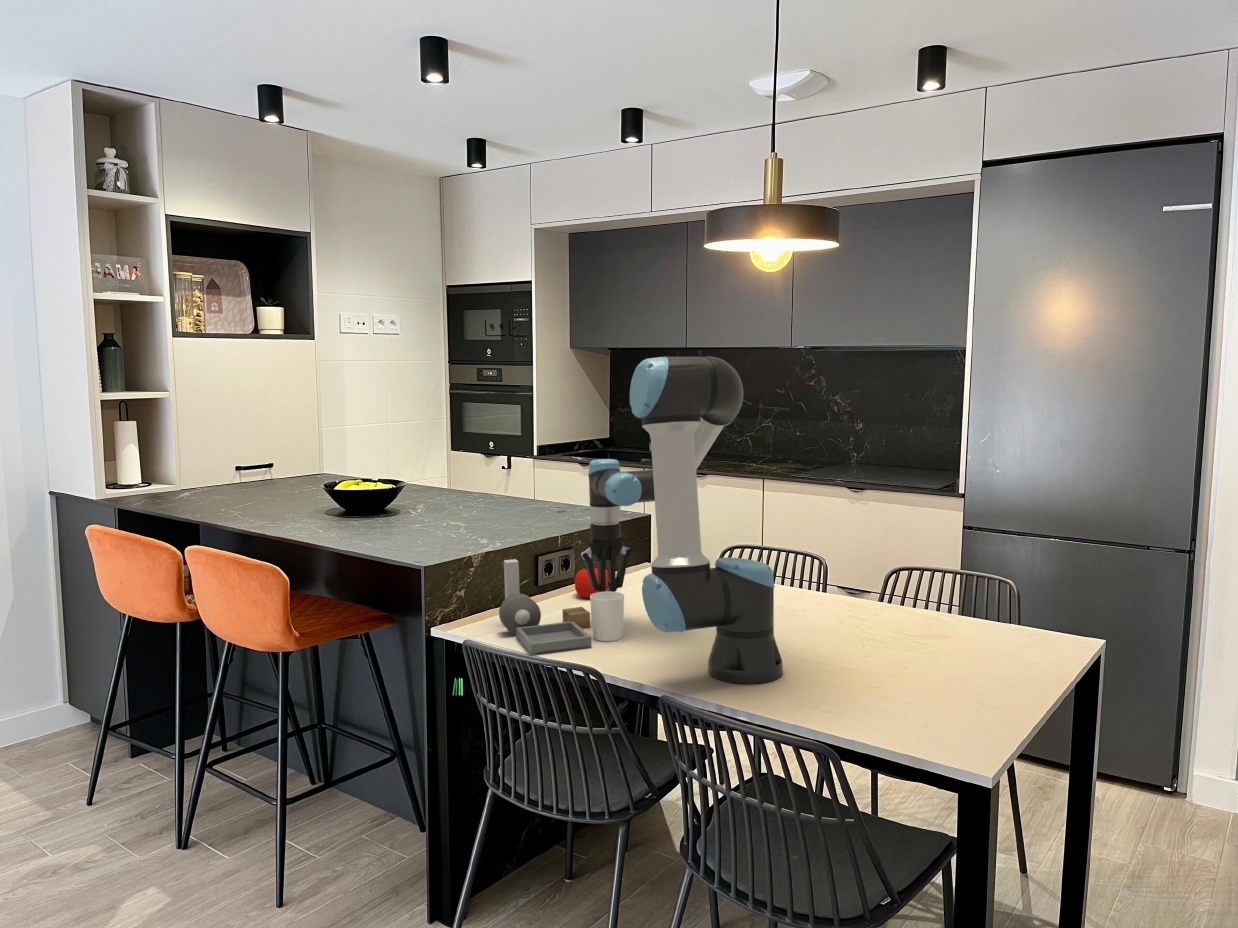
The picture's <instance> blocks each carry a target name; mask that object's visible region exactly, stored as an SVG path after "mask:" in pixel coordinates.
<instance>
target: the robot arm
mask: <svg viewBox="0 0 1238 928" xmlns="http://www.w3.org/2000/svg"><path fill="white" fill-rule="evenodd" d="M629 388H630V389H629V407H630V408H631V412H632V414H633V415H634V417H636V418H638V419H641V424H642V426H641V428H642V429H644V431H646V432H647V433H648V434H649V436H650V444H651V445H650V446H651V450H650V451H651V460H652V461H651V464H652V469H644V470H641V469H640V470H627V471H621V468H620V462H619V460H618V459H613V458H601V459H600V458H598V459H591V461H590V462H589V465H588V473H587V474H588V475H587V476H588V489H589V490H588V491H589V492H588V493H589V494H588V495H589V521H590V522H591V523H590V525H589V530H590V531H589V533H590V540H589V541H590V542H589V544H588V548H587V549H586V550H584V551H581V552H580V553H579V554H580V557H581V558H582V560H583V562H584V564H585V569H586V570H587V572H588V576H589V580H590V584H591V587H592V588H593V589H594V590H598V591H599V592H617V589H619V588H620V589H621V588H623V585H624V582H625V581H624V580H625V575H626V572H627V567H628V562H629V558H630V556H631V554H632V553H633V551H632V549H631V548H629V547H626V546H624V542H623V541H622V524H621V523H620V522H621V521H622V520H621V519H622V518H621V517H622V514H621V507H629V506H632V505H634V504H636V503H638V504H640V503H649V502H654V510H655V525H656V541H657V556H656V557H655V559H654V560H653V561H652V562H651V564H650V567H651V573H649V574H647V575H645V576H644V577H643V579H642V584H641V585H642V586H641V594H642V601H643V606H644V609H645V611H646V614H647V616H648V618H649V620H650V622H651V624H652V625H653V626H654V627H655V628H656V629H657V630H658V631H660V632H662V633H683V632H685V631H686V632H687V631H693V630H700V629H701V630H702V629H707V628H708V629H709V628H715V631H716V634H715V638H714V641H713V644H712V647H711V650H710V654H709V657H708V659H707V669H708V670H707V671H708V673H709V675H710V676H711V677H713V678H715V679H718V680H721V681H724V682H726V683H733V684H734V683H735V684H743V685H744V684H745V685H747V684H749V685H750V684H752V685H753V684H762V683H768V682H771V681H775V680H776V679H779V678H781V676H782V675H783V672H784V671H783V668H784V667H783V660H782V656H781V653H780V650H779V647H778V644H777V641H776V639H775V638H776V637H775V632H774V631H775V630H774V626H775V624H774V623H775V616H774V614H775V612H774V611H775V609H774V608H775V606H774V605H775V604H774V601H775V598H774V597H775V595H774V593H775V592H774V591H775V587H776V586H775V581H774V571H773V569H772V568H771V566H770V565H768V564H767V563H765V562H762V561H758V560H754V559H753V560H752V559H747V558H742V557H741V558H739V557H720V558H717V559H716V560H715V562H714V566H715V567H711V562H710V559H708V558H707V557H706V555H704V554H703V551H702V542H701V541H702V539H701V528H700V527H701V525H700V511H699V510H700V509H699V495H698V479H697V478H698V477H697V470H698V468H699V466H700V465H701V463H702V462H703V460H704V458H705V457H706V455H707V454H708V452H709V450H710V449H711V448H712V446H713V444H714V443H715V441H716V440H717V438H718V436H719V435H720V433H721V432H722V430H723V428H724V427H726V426H728V425H730V424H731V423H733V422H734V421H735V419H736V417H737V416H738V414H739V413H740V410H741V408H742V406H743V400H744V387H743V383H742V379H741V377H740V375H739V373H738V371H737V370H736V369H735V367H733V366H732V365H731V364H730V363H729V362H727V361H726V360H724V359H722V358H719V357H716V356H710V355H709V356H706V355H705V356H660V357H659V356H658V357H651V358H650V357H649V358H646V359H644V360H641V362H640V363H639V364H638V365H637V366H636V367H635V369H634V372H633V374H632V378H631V382H630V387H629ZM619 553H620V555H619ZM592 554H593V556H594V557H595V559H596V562H597V568H598V582H597V578H596V575H595V571H594V568H595V567H594V564H593V560H592ZM618 555H619V556H620V557H619V561H618V565H617V570H616V564H617V563H616V562H617V559H616V558H617V557H618ZM606 565H607V570H608V588H609V590H608V589H606V572H605V570H606Z"/></svg>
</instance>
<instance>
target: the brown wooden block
mask: <svg viewBox="0 0 1238 928" xmlns="http://www.w3.org/2000/svg"><path fill="white" fill-rule="evenodd" d="M570 621H574V622H575V623H576V624H577V625H578V626H579V627H581V628H582V629H583V630H586V629H591V611H588V610H587V609H586V608H584V607H583V606H578V607H577V606H576V607H569V608H562V622H570Z"/></svg>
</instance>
